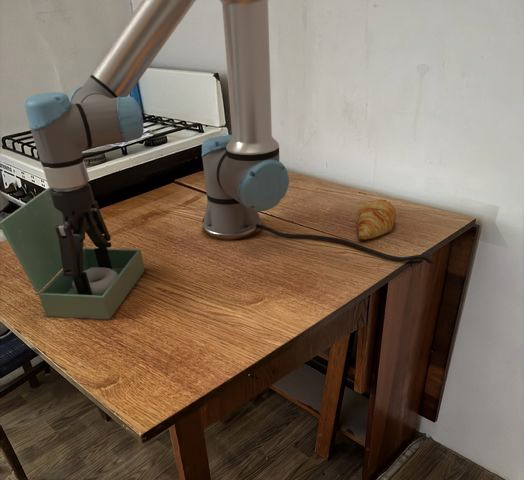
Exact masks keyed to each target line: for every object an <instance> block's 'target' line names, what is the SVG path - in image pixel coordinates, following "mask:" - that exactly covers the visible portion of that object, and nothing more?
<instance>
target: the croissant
mask: <svg viewBox="0 0 524 480" xmlns="http://www.w3.org/2000/svg"><path fill="white" fill-rule="evenodd" d="M396 218H397V212H396V207H395V206H394V205H393V204H392V203H391V202H390V201H388V200H386V199H376V200H370V201H368V202H366V203H364V204H363V205H361V206H360V207H359V208H358V209H357V211H356V212H355V224H356V226H357V232H358V238H359V239H360V240H370V239H375V238H377V237H380V236H382V235H385V234H387V233H390V232H391V231H393V228H394V226H395V221H396Z"/></svg>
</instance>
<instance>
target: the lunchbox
mask: <svg viewBox="0 0 524 480" xmlns="http://www.w3.org/2000/svg"><path fill="white" fill-rule="evenodd" d="M95 248H96V247H83V271H85V270H88V269H92V268H98V267H99V266H98V262H97V258H96V255H95V251H94V249H95ZM107 250H108V254H109V258H110V262H111V266H112V270H114V271H116V272H117V274H118V276H117V277H116V279H115V280H114V281H113V282H112V284H111V285H110V286H109V287H108V289H107V290H106V291H105V293H104V294H103V295H102V296H97V295H77V294H76V293H75V291H74V290H73V288H72V283H73V277H72V276H64V273H63V269H61V270H60V271H59V272H58V273H57V274H56V275H55V276H54V277H53V278H52V279H51V280H50V281H49V282H48V283H47V284H46V285H45V286H44V287H43V288H42V289H41V290H40V292H38V297H39V299H40V302H41V305H42V308H43V311H44V314H45V316H46V317H57V318H75V319H93V320H108V321H109V320H111V319H112V316H114V314H115V313H116V311H117V310H118V309H119V307H120V306H121V304H122V303H123V301H124V300H125V299H126V297H127V296H128V294H129V293H130V292H131V290H132V289H133V288H134V286H135V285H136V283H137V282H138V280H139V279H140V278H141V276H142V275H143V273H145V271H146V270H145V269H146V268H145V264H144V260H143V259H144V258H143V255H142V249H131V248H130V249H129V248H107Z"/></svg>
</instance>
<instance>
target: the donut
mask: <svg viewBox="0 0 524 480" xmlns="http://www.w3.org/2000/svg"><path fill="white" fill-rule="evenodd" d="M83 272H86V274H87V277H88V281H89V284H90V288H91V291H92V295H97V296H102V295H103V294H104V293H105V291H106V290H107V289H108V287H109V286H110V285H111V284H112V282H113V281H114V280H115V279H116V277H117V276H118V274H117V272H116V271H114V270H112V269H110V268H105V267H98V268H92V269H88V270H85V271H83ZM72 288H73V290H74V291H75V293H76V294H77V295H78V292H77V289H76V287H75V283H74V280H73V283H72Z"/></svg>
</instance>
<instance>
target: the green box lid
mask: <svg viewBox="0 0 524 480" xmlns="http://www.w3.org/2000/svg"><path fill="white" fill-rule="evenodd" d="M50 189H51V188H50V187H49V186H48V187H47V188H46V189H45V190H43V191H42V192H40V193H38V194H37V195H36V196H35V197H33V198H31V199H30V200H29V201H27V202H26V203H25V204H23V205H22V206H20V207H19V208H17V209H16V210H15V211H13V212H12V213H10V214H9V215H8V216H6V217H5V218H3V219H2V220H1V221H0V229H1V231H2V233H3V235H4V237H5V238H6V240H7V242H8V244H9V246H10V248H11V249H12V252H13V253H14V255H15V257H16V258H17V260H18V262H19V264H20V265H21V268H22V270H23V271H24V273H25V275H26V277H27V278H28V280H29V282H30V284H31V286H32V288H33V290H34V291H35V293H40V292H41V291H42V290H43V289H44V288H45V287H46V286H47V285H48V284H49V283H50V282H51V281H52V280H53V279H54V278H55V277H56V276H57V275H58V274H59V273H60V272H61V271H62V270H63V266H62V259H61V252H60V245H59V238H58V235H57V232H56V229H55V226H56V225H62V224H63V214H62V212H61V211H59V210H57V209H56V208H55V207H54V204H53V201H52V198H51V194H50ZM72 234H73V233H72ZM73 235H74V236H79V235H80V234H73ZM85 247H86V245H85V242H84V241H83V248H85Z"/></svg>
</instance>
